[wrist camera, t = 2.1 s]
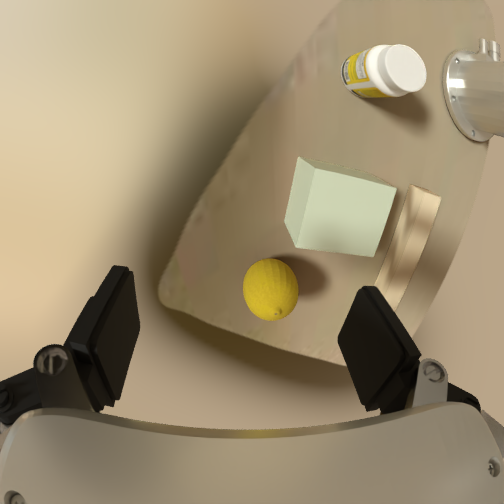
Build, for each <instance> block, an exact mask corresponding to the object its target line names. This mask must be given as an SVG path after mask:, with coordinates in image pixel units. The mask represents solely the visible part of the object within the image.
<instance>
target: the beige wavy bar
mask: <svg viewBox="0 0 504 504" xmlns="http://www.w3.org/2000/svg"><path fill="white" fill-rule="evenodd" d="M440 201H441V197H440V196H438V195H436V194H434V193H433V192H431V191H429V190H427V189H424V188H421V187H418V186H415V185H412V184H410V185H409V189H408V192H407V195H406V199H405V202H404V205H403V209H402V212H401V215H400V218H399V221H398V224H397V227H396V230H395V233H394V236H393V238H392V241H391V244H390V247H389V249H388V252H387V255H386V257H385V260H384V262H383V265H382V267H381V270H380V272H379V275H378V277H377V280H376V282H375V284H374V286H376V287H377V288H378V289H379V290H380V292H381V293H382V295H383V296H384V297H385V299H386V300H387V302H388V303H389V305H390V306H391V308H392V309H393V311H394V312H395V310H396V308H397V306H398V304H399V302H400V300H401V298H402V296H403V294H404V292H405V290H406V288H407V286H408V283H409V281H410V279H411V277H412V275H413V273H414V270H415V268H416V266H417V263H418V261H419V259H420V256H421V254H422V251H423V249H424V246H425V244H426V241H427V239H428V236H429V233H430V231H431V228H432V225H433V222H434V219H435V217H436V214H437V211H438V208H439V204H440Z"/></svg>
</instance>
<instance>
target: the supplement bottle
mask: <svg viewBox="0 0 504 504" xmlns="http://www.w3.org/2000/svg"><path fill="white" fill-rule="evenodd" d="M341 78H342V81H343V83H344V85H345V86H346V88H347V89H348V90H349V91H350V92H352V93H353V94H355V95H356V96H359V97H362V98H375V97H400V96H403V95H405V94H407V93H408V92H416V91H418V90H420V89H421V88H422V87H423V86H424V84H425V81H426V68H425V65H424V63H423V61H422V59H421V57H420V56H419V55H418V54H417V52H415V51H414V50H413V49H412V48H410V47H408V46H406V45H401V44H397V45H392V46H390V45H378V46H375V47H372V48H370V49H367V50H365V51H362V52H360V53H357V54H355V55H352V56H350V57H348V58H347V59H346V60H345V61H344V62H343V64H342V67H341Z"/></svg>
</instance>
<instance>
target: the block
mask: <svg viewBox="0 0 504 504" xmlns="http://www.w3.org/2000/svg"><path fill="white" fill-rule="evenodd" d="M396 189H397V188H395V187H393V186H392V185H390V184H388V183H386V182H384V181H383V180H381V179H379V178H377V177H375V176H374V175H372V174H370V173H367V172H364V171H360V170H356V169H352V168H348V167H344V166H340V165H336V164H332V163H327V162H323V161H318V160H314V159H309V158H304V157H299V156H298V160H297V165H296V169H295V174H294V179H293V184H292V188H291V193H290V198H289V202H288V207H287V211H286V216H285V220H284V222H285V224H286V227H287V229H288V231H289V233H290V235H291V238H292V240H293V242H294V244H295V247H296V248H303V249H311V250H319V251H328V252H336V253H344V254H352V255H360V256H368V257H374V255H375V252H376V249H377V247H378V244H379V241H380V238H381V236H382V233H383V230H384V227H385V224H386V221H387V218H388V215H389V212H390V209H391V206H392V203H393V199H394V196H395V193H396Z"/></svg>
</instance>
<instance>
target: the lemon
mask: <svg viewBox="0 0 504 504" xmlns="http://www.w3.org/2000/svg"><path fill="white" fill-rule="evenodd" d="M243 292H244V298H245V301H246V303H247V305H248V307H249V309H250V310H251V311H252V312H253V313H254V314H255V315H256V316H258V317H259V318H261V319H264V320H270V321H274V320H279V319H282V318H284V317H286V316H287V315H289V314H290V313H291V312H292V310H293V309H294V308H295V306H296V303H297V300H298V292H299V291H298V283H297V279H296V277H295V275H294V273H293V271H292V270H291V269H290V267H289V266H288V265H287V264H285V263H284V262H282V261H280V260H277V259H270V258H267V259H262V260H260V261H257V262H256V263H255V264H253V265H252V266H251V267H250V268H249V269H248V271H247V273H246V275H245V278H244V283H243Z"/></svg>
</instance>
